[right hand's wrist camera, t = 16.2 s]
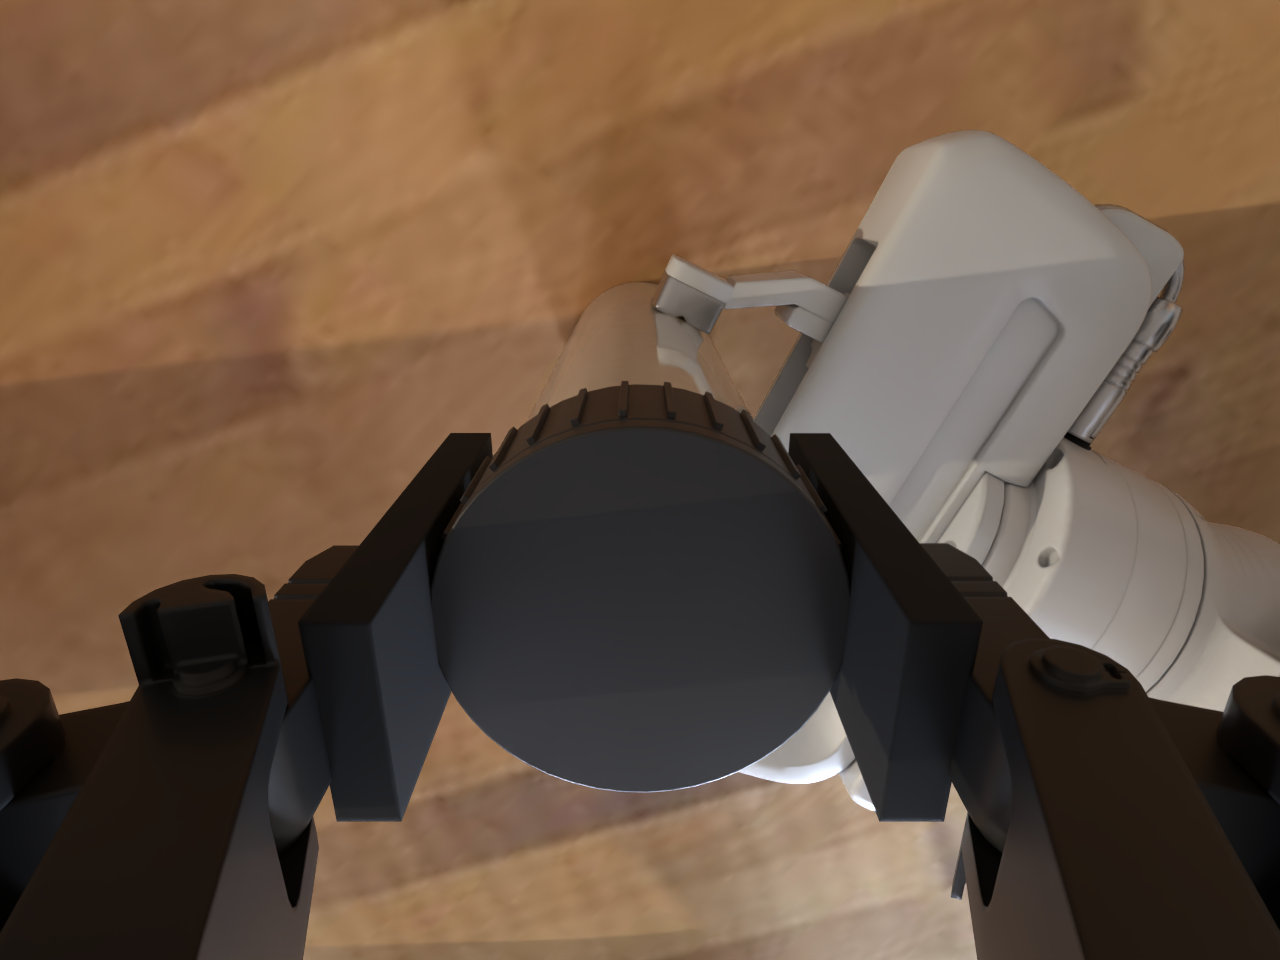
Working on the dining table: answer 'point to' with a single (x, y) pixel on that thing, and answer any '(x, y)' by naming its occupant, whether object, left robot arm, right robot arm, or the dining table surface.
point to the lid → (640, 592)
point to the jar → (636, 351)
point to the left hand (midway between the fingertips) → (612, 384)
